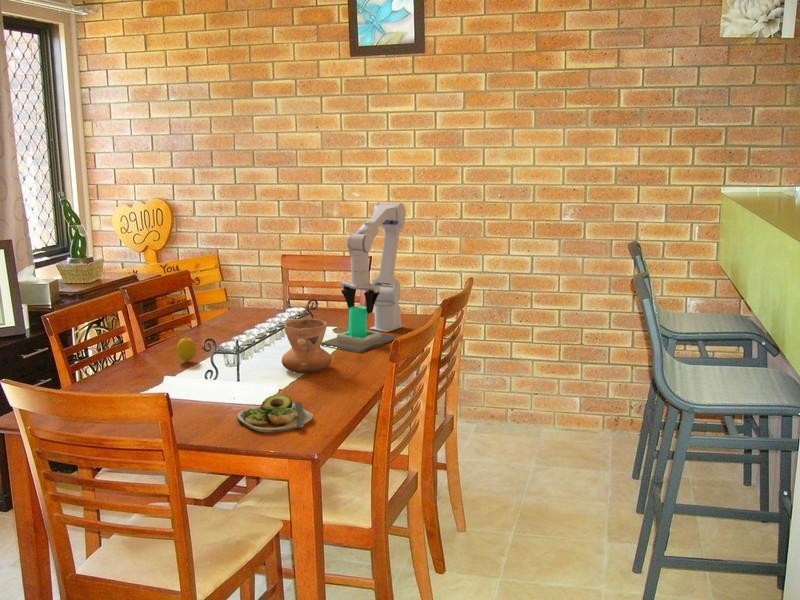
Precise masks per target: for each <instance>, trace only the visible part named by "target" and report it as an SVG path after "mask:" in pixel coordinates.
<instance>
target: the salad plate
mask: <svg viewBox="0 0 800 600" xmlns="http://www.w3.org/2000/svg"><path fill="white" fill-rule="evenodd" d="M236 417H237V418H236V419H237V421H238V422H239V423H240V424H241V425H244V426H246V428H247V427H248V428H249V429H251V430H255V431H257V432H260V433H270V434H271V433H272V434H273V433H282V432H283V433H284V432H287V431H291V430H296V429H299V428H300V429H301V428H304V426H305V425H307V423H310V421H311V420H312V419H313V417H314V414H313V413H312V412H310V411H308V410H306V409H304V408H303V403H302V402H301V401H294V403H293V400H292V398H291V397H290V396H289V395H287V394H281V393H279V394H273V395H271V396H269V397H266V398H265V399H264V400H263V401H262V404H261V406H258V407H252V408H246V409H243V410H241V411H239V412H238V414H237V416H236ZM254 425H255V426H254ZM257 425H258V426H257ZM260 425H270V426H271V425H272V426H274V427H262V426H261V427H260Z"/></svg>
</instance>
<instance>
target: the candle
mask: <svg viewBox="0 0 800 600" xmlns="http://www.w3.org/2000/svg"><path fill="white" fill-rule="evenodd" d="M348 313H349V314H348V316H349V317H348V331H349V336H353V337H359V338H363V337H366V335H367V330H368V313H367V306H366V305H365V306H363V305H359V303H358V305H357V306H354V307H352V306H351V307H350V308H349V309H348Z"/></svg>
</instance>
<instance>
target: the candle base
mask: <svg viewBox="0 0 800 600" xmlns="http://www.w3.org/2000/svg"><path fill="white" fill-rule="evenodd" d="M395 338H397V336H396V335H389V334H382V332H381V331H375V330H374V331H373V330H370V329H369V330H368V329H367V335H366V337H363V338H359V337H353V336H349V330H347V331H344V332H342V333H339V334H336V337H334V338H331V339H328V340H324V341H322V343H321V345H326V346H333V347H337V348H340V349H339V350H342V349H343V350H344V351H347V350H348V351H349V352H355V353H359V354H361V353H364V352H367V351H368V350H372V349H375V348H377V347H376V346H378V347H380V346H379V345H381V344H383V345H385V344H384V343H386V342H389V341H391V340H392V342H394V341H395V340H394V339H395ZM397 339H398V338H397ZM393 340H394V341H393ZM389 343H390V342H389ZM386 344H387V343H386ZM321 345H320V346H321ZM326 346H325V347H326ZM381 346H382V345H381ZM374 347H375V348H374ZM337 348H336V349H337ZM371 348H372V349H371ZM343 350H342V351H343ZM366 350H367V351H366ZM348 351H347V352H348Z"/></svg>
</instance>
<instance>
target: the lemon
mask: <svg viewBox="0 0 800 600" xmlns="http://www.w3.org/2000/svg"><path fill="white" fill-rule="evenodd" d="M196 351H197V349H196V344H195V342H194V340H193V339H192V338H189V337H188V336H183V338H181V339H180V340H179V341H178V343H177V346H176V353H177V356H178V358H179V360H182V361H183V362H185V363H189V362H190V361H191V360H193V358H194V357H195V356H196Z"/></svg>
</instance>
